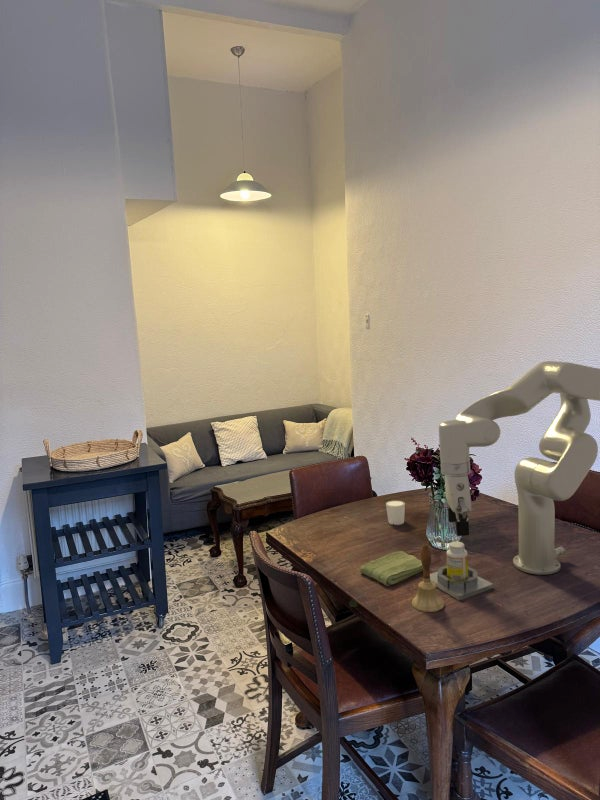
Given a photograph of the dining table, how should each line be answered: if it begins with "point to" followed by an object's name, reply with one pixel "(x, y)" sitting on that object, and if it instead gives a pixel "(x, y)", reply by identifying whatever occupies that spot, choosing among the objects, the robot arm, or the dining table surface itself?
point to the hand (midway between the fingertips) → (458, 528)
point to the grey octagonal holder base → (460, 583)
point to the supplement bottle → (457, 561)
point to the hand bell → (427, 587)
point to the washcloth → (392, 568)
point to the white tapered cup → (395, 512)
